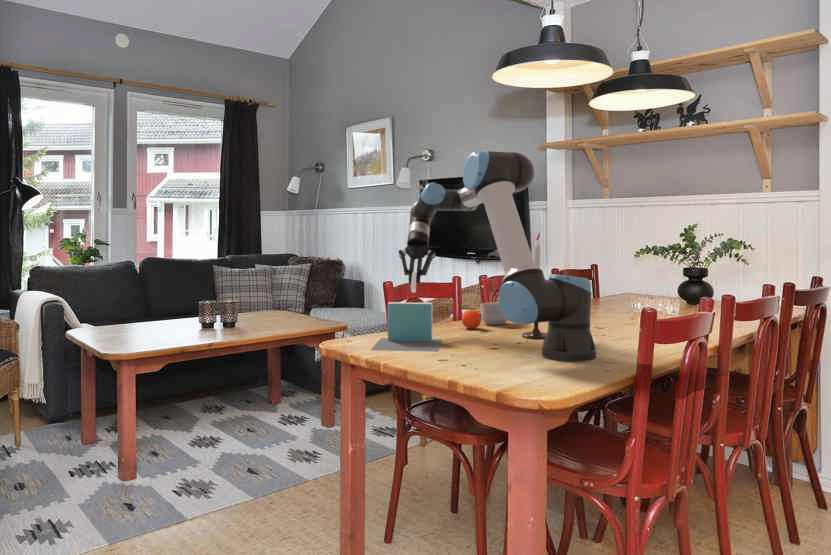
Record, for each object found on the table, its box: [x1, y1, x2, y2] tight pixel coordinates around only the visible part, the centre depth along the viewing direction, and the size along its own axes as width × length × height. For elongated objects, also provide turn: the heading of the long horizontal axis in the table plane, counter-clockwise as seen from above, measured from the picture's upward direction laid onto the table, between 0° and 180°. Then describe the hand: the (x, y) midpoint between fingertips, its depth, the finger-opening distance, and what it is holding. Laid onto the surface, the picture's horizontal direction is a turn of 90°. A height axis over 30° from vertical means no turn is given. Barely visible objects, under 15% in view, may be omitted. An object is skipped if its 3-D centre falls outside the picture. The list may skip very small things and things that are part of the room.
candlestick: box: [521, 231, 547, 340], centre depth 217 cm, size 11×11×35 cm
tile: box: [387, 301, 433, 341], centre depth 209 cm, size 3×14×12 cm, turn 84°
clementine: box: [459, 308, 482, 330], centre depth 235 cm, size 8×7×7 cm
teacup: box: [479, 301, 509, 326], centre depth 246 cm, size 14×11×8 cm
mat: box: [370, 337, 443, 352], centre depth 203 cm, size 20×20×1 cm
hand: (413, 289), depth 217 cm, fingers closed
